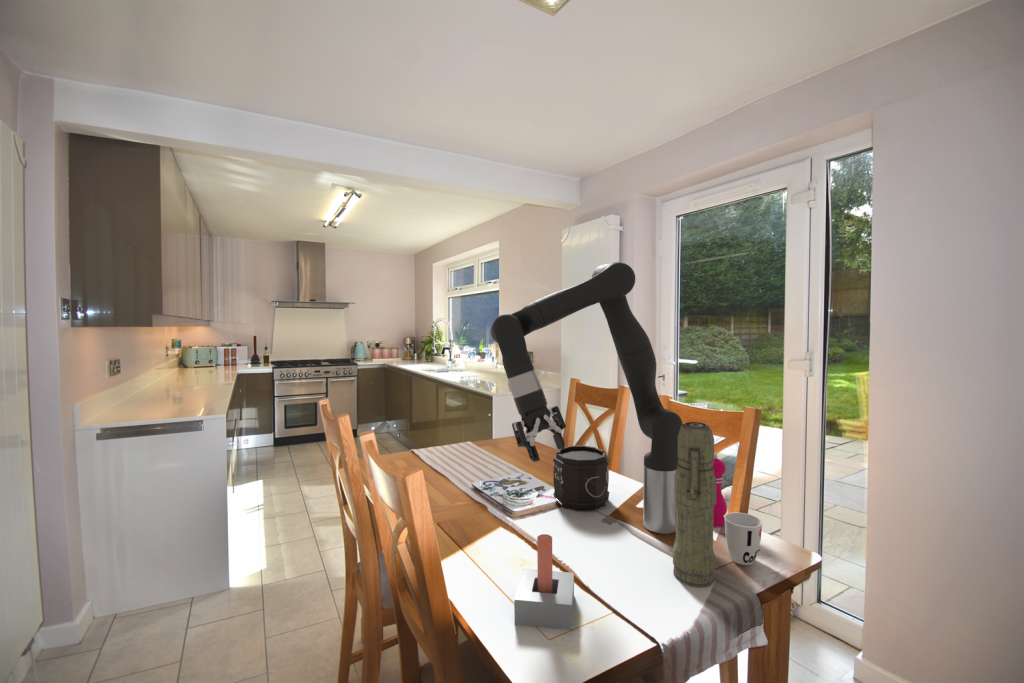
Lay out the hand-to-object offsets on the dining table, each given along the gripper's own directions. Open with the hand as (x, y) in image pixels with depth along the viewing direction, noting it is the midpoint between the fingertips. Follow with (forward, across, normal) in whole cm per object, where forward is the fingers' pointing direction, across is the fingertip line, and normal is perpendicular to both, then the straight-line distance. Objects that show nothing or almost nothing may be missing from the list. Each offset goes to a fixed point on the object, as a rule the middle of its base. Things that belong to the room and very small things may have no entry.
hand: (549, 454), depth 115 cm
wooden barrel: (+23, +26, +26) cm, 44 cm away
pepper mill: (+37, +43, -6) cm, 57 cm away
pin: (+26, -19, -7) cm, 33 cm away
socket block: (+26, -19, -7) cm, 33 cm away
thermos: (+36, +14, -17) cm, 42 cm away
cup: (+39, +29, -20) cm, 53 cm away
